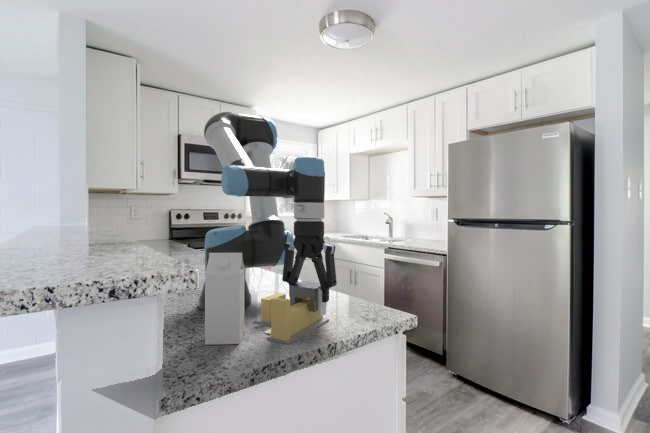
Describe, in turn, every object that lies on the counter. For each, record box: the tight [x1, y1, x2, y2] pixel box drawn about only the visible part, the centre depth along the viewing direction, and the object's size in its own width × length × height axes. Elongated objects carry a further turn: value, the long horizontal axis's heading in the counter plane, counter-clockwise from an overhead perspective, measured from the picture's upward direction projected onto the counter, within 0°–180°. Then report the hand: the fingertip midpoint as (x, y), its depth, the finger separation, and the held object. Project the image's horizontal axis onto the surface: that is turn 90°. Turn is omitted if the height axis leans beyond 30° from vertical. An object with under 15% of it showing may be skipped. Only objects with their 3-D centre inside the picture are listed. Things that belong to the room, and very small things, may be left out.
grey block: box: [289, 280, 328, 312], centre depth 85 cm, size 7×6×6 cm
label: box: [263, 328, 271, 335], centre depth 81 cm, size 3×6×1 cm, turn 151°
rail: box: [266, 297, 330, 345], centre depth 82 cm, size 6×18×9 cm, turn 151°
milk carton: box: [204, 253, 245, 346], centre depth 75 cm, size 7×7×19 cm
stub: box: [252, 292, 287, 327], centre depth 89 cm, size 6×9×6 cm, turn 151°
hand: (308, 312), depth 85 cm, fingers closed on grey block, 7 cm apart
